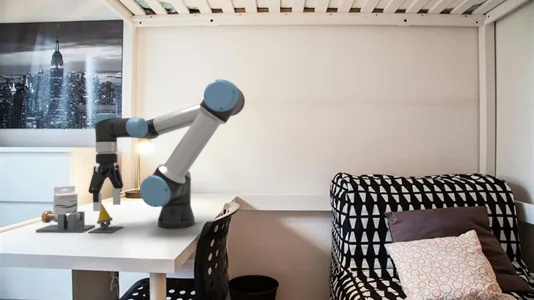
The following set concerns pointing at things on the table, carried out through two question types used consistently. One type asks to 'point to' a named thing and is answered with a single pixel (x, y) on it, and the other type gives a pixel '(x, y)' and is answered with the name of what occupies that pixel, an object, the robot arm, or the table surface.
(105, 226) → the yellow cone
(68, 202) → the ink box
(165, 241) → the table surface
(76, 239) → the table surface
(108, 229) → the seat pad
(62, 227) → the grey vise
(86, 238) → the table surface
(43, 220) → the shaft
